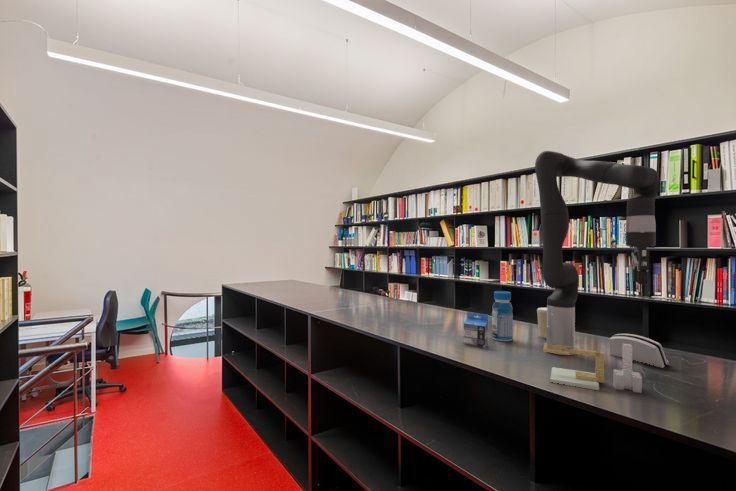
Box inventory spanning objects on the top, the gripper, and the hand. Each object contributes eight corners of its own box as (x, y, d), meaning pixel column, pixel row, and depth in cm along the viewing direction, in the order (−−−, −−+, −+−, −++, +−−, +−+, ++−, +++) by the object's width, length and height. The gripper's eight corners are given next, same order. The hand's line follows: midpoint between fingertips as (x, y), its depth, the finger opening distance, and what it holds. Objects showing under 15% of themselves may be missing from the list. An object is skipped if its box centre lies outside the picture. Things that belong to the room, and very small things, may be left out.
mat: (550, 382, 107) (550, 378, 107) (551, 370, 118) (551, 367, 118) (599, 390, 101) (599, 386, 101) (596, 376, 112) (596, 373, 112)
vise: (615, 388, 102) (615, 345, 102) (611, 376, 112) (611, 336, 112) (641, 393, 100) (642, 348, 100) (635, 380, 109) (635, 339, 109)
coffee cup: (565, 338, 158) (565, 310, 158) (547, 340, 155) (548, 311, 155) (549, 333, 167) (549, 306, 167) (532, 334, 164) (532, 307, 164)
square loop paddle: (543, 375, 110) (543, 348, 110) (544, 368, 116) (544, 342, 116) (604, 384, 103) (604, 356, 103) (602, 376, 109) (602, 349, 109)
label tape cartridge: (462, 343, 149) (463, 313, 149) (466, 341, 152) (466, 311, 152) (484, 347, 143) (485, 315, 143) (488, 345, 146) (488, 314, 146)
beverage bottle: (506, 343, 150) (507, 293, 150) (487, 339, 156) (488, 291, 156) (516, 339, 156) (516, 292, 156) (497, 335, 162) (498, 290, 162)
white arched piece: (670, 365, 123) (665, 338, 121) (663, 372, 121) (658, 344, 119) (617, 352, 138) (612, 328, 136) (610, 358, 136) (604, 333, 134)
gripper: (622, 231, 123) (622, 280, 123) (629, 230, 110) (628, 284, 110) (650, 231, 119) (650, 281, 119) (660, 229, 107) (660, 286, 107)
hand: (640, 283), depth 115 cm, fingers open, 8 cm apart
